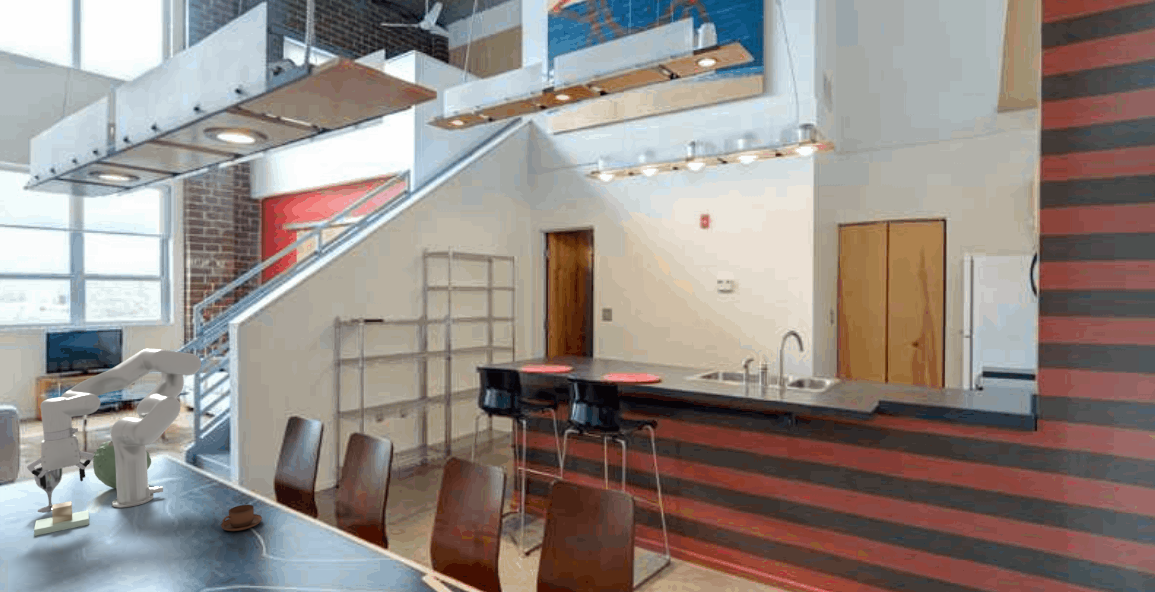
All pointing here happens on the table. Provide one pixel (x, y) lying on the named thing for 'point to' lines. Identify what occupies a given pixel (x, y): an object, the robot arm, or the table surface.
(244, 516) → the cup and saucer
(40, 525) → the sage board
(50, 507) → the wine glass
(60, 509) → the birch cube
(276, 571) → the table surface
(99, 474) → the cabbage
